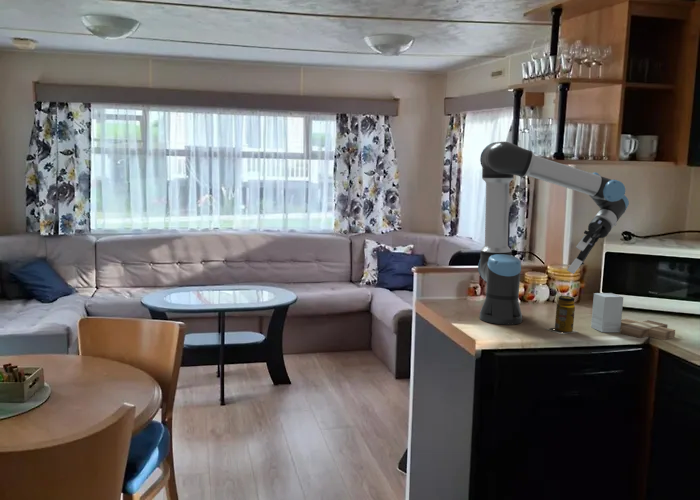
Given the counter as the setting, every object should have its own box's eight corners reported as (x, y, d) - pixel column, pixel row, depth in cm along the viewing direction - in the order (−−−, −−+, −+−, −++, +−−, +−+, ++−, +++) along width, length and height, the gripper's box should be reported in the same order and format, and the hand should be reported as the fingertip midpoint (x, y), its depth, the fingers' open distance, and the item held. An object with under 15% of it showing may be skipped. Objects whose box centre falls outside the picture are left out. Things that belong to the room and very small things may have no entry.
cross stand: (655, 342, 215) (656, 334, 214) (606, 329, 229) (606, 322, 229) (682, 335, 226) (683, 327, 225) (633, 323, 240) (634, 316, 239)
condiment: (578, 332, 225) (581, 298, 223) (562, 334, 220) (565, 300, 218) (561, 327, 231) (563, 294, 229) (545, 329, 226) (547, 296, 224)
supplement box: (621, 332, 226) (624, 296, 224) (601, 332, 225) (604, 297, 223) (609, 327, 233) (612, 292, 232) (590, 327, 232) (593, 292, 230)
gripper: (621, 206, 229) (593, 243, 220) (602, 249, 249) (576, 285, 239) (601, 196, 232) (573, 233, 223) (584, 240, 252) (557, 275, 242)
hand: (574, 260), depth 231 cm, fingers open, 13 cm apart
